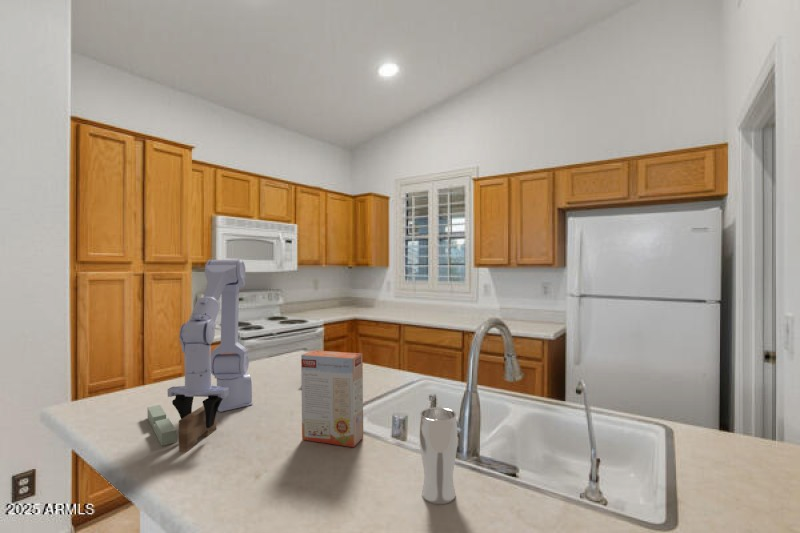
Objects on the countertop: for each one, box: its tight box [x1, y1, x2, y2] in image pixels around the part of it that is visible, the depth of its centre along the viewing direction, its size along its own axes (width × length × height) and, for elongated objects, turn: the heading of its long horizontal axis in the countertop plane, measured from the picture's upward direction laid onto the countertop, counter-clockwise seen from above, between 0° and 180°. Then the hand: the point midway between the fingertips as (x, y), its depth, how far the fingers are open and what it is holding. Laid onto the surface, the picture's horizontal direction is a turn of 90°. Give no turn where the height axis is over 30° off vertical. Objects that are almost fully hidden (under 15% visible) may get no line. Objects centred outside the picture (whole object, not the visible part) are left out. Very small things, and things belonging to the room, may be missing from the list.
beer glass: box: [418, 406, 458, 505], centre depth 73 cm, size 7×7×15 cm
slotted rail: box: [147, 404, 177, 447], centre depth 103 cm, size 3×22×3 cm, turn 40°
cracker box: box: [300, 349, 364, 448], centre depth 97 cm, size 14×6×21 cm, turn 71°
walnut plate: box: [178, 404, 217, 452], centre depth 97 cm, size 12×2×7 cm, turn 175°
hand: (198, 426), depth 97 cm, fingers open, 5 cm apart
